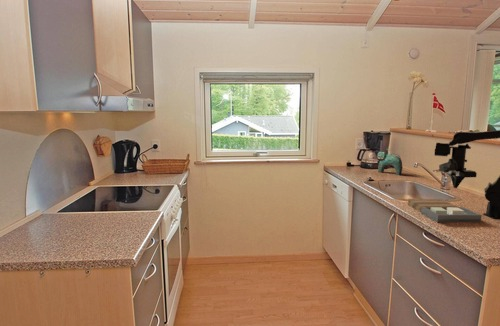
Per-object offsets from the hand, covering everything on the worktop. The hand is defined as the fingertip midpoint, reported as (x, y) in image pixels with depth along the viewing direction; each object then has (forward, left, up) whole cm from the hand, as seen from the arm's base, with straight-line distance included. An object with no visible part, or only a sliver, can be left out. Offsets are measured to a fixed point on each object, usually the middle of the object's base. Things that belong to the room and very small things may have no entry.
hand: (455, 187), depth 159 cm
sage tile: (-10, +14, -10) cm, 20 cm away
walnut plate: (+2, +10, -12) cm, 15 cm away
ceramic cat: (+96, -12, -12) cm, 97 cm away
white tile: (-11, +6, -10) cm, 16 cm away
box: (-12, +10, -12) cm, 19 cm away
